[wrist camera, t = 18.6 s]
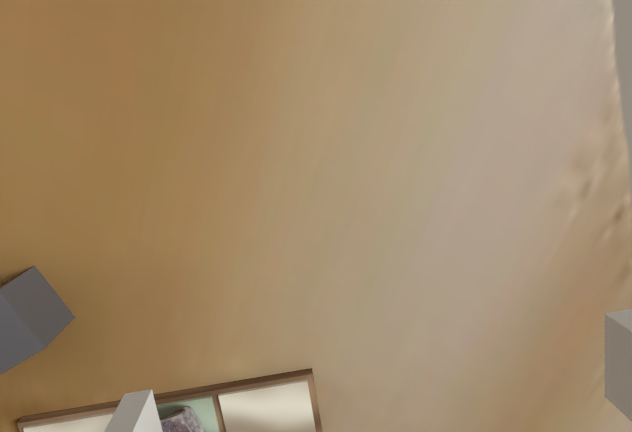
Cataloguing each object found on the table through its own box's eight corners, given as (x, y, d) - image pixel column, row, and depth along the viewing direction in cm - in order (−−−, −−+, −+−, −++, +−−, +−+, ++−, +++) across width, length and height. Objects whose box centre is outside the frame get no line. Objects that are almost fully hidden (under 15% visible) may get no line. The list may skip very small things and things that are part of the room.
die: (-19, 297, 45) (-66, 328, 39) (35, 265, 45) (-4, 291, 39) (25, 349, 47) (-14, 386, 41) (77, 318, 46) (45, 351, 40)
